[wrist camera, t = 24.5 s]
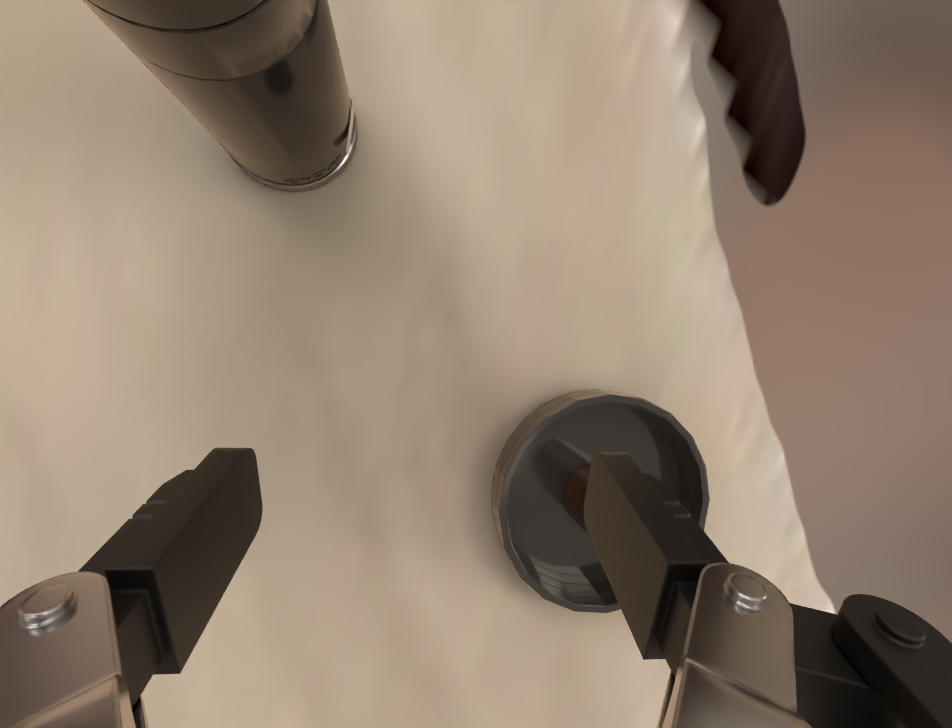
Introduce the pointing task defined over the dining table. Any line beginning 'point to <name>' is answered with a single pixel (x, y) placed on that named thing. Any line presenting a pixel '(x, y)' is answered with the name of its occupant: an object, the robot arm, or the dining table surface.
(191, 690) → the dining table surface
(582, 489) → the pepper mill
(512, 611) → the dining table surface
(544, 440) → the pan
